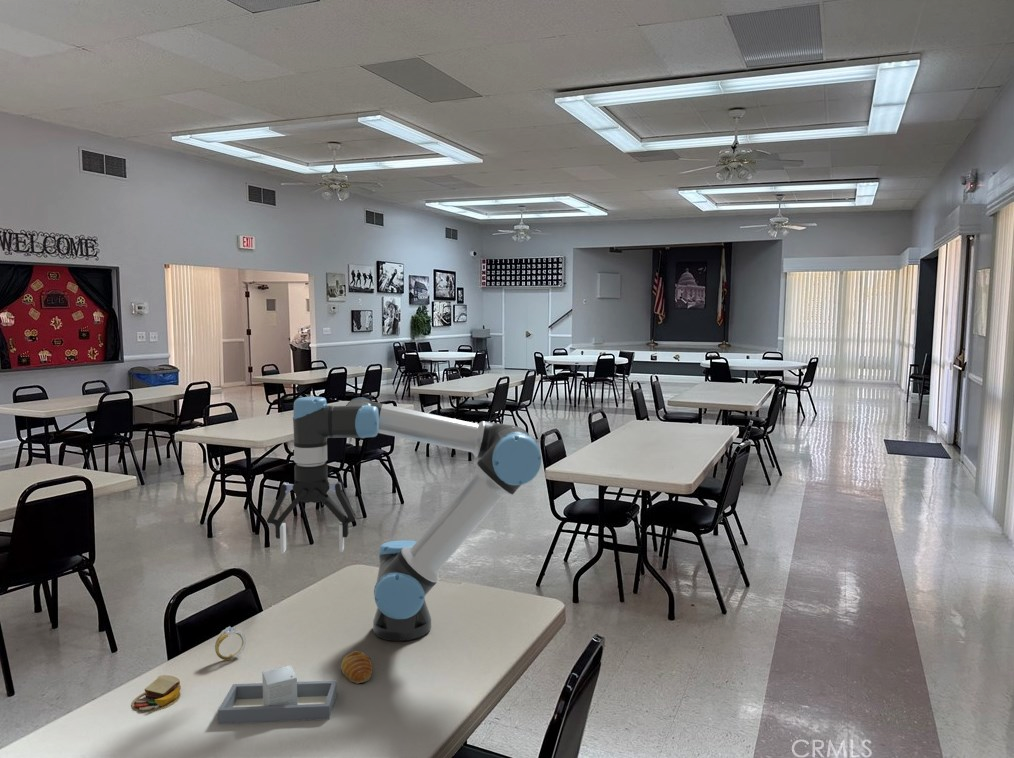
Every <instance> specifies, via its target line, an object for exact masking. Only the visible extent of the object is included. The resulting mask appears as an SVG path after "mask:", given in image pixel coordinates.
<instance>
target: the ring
mask: <svg viewBox="0 0 1014 758" xmlns="http://www.w3.org/2000/svg"><path fill="white" fill-rule="evenodd" d="M236 628H237V626H234V627H231V626H230V625H229V626H228V627H225V629H223V630H221V631H220V633H219V634H218V635H217V638H216V639H215V642H214V651H215V653H216V655H217V657H218V658H220V659H221V660H225V661H226V660H227V661H228V660H229V661H231V660H233V659H235V658H237V657H239V656H240V655H241V654H242V653H243V651H244V650H245V647H246V643H247V640H246V637H245V635H244V633H243V631H241V630H239V629H236ZM233 634H236V635H238V636H239V637H240V638H241V645H240V648H239V649H238V650H237V652H235V653H234V654H228V655H223V654H222V653H220V651H219V650H220V645H221V643H222V642H223V641H224V640H225V639H226V638H228V637H229V636H230V635H233Z"/></svg>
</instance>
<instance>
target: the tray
mask: <svg viewBox="0 0 1014 758" xmlns="http://www.w3.org/2000/svg"><path fill="white" fill-rule="evenodd" d="M337 696H338V680H315V681H314V680H313V681H311V680H310V681H309V680H308V681H297V701H298V705H276V706H264V704H263V682H257V683H253V682H252V683H233V684H232V685H231V687H230V689H229V690H228V692H227V694H226V696H225V697H224V699H223V700H222V702H221V704H220V706H219V707H218V709H217V723H218V725H227V724H232V725H233V724H249V723H250V724H251V723H271V722H272V723H275V722H276V723H277V722H296V721H297V722H300V721H318V720H319V721H320V720H322V721H323V720H330V719H331V716H332V712H333V710H334V706H335V702H336V698H337Z"/></svg>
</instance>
